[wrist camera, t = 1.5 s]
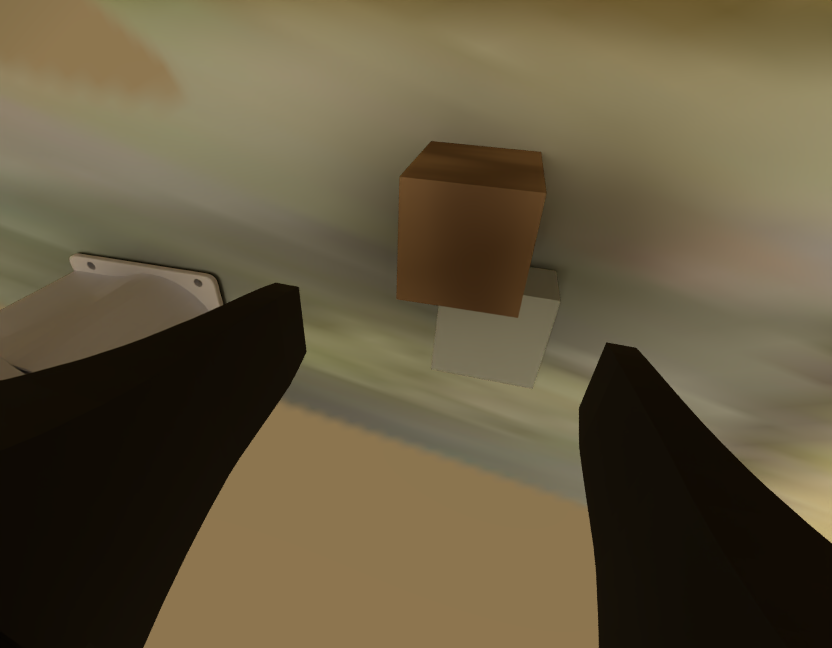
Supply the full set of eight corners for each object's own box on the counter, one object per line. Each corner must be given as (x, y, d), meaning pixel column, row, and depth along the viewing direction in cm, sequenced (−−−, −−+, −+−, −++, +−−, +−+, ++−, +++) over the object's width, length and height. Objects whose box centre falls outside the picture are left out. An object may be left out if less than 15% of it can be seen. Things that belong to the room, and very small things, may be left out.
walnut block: (424, 240, 20) (396, 299, 16) (431, 140, 17) (399, 176, 13) (519, 253, 19) (518, 318, 15) (541, 151, 17) (546, 193, 12)
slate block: (440, 334, 23) (431, 369, 21) (451, 252, 20) (441, 281, 18) (531, 351, 23) (532, 388, 20) (556, 268, 20) (560, 300, 17)
